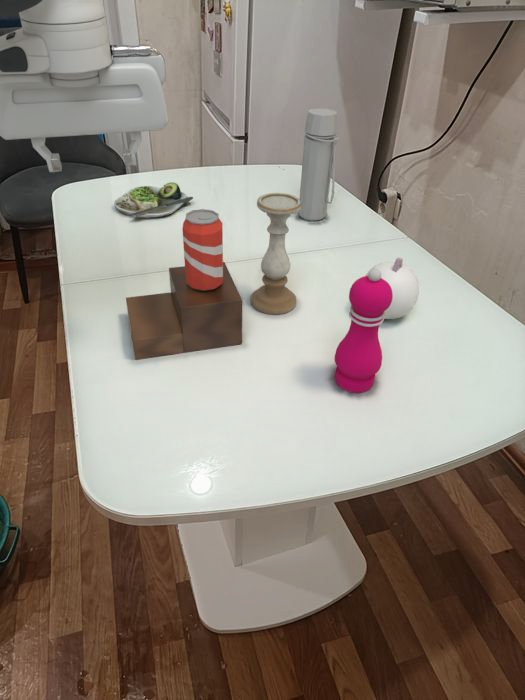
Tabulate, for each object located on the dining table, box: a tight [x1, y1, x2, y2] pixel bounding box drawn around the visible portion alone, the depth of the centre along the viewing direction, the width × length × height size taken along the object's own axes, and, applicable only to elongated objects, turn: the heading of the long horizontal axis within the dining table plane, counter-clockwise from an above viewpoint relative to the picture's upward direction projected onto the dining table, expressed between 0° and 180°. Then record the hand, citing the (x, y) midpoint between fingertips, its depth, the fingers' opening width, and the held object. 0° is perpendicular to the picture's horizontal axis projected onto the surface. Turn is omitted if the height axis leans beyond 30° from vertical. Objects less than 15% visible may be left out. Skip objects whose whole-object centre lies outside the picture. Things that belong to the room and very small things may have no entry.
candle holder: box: [250, 192, 302, 315], centre depth 92 cm, size 9×9×20 cm
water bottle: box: [297, 107, 340, 222], centre depth 122 cm, size 9×8×25 cm
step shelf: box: [125, 261, 244, 361], centre depth 87 cm, size 18×13×9 cm
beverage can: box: [181, 208, 224, 291], centre depth 82 cm, size 6×6×12 cm
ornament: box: [365, 257, 420, 320], centre depth 93 cm, size 10×10×12 cm
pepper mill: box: [334, 269, 393, 394], centre depth 75 cm, size 7×7×20 cm
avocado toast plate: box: [113, 181, 194, 219], centre depth 129 cm, size 19×18×5 cm
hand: (94, 167), depth 66 cm, fingers open, 8 cm apart
